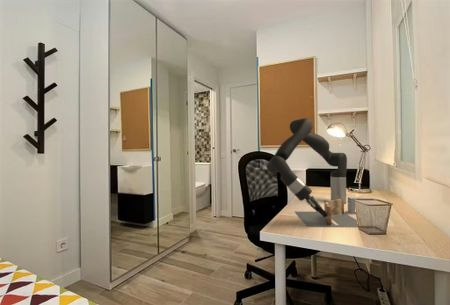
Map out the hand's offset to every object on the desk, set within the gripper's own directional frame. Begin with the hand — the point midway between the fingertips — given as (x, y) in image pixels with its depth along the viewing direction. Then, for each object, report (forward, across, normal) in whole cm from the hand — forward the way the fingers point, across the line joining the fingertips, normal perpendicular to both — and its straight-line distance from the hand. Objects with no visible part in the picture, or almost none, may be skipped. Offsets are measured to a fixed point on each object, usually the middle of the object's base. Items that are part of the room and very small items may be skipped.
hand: (326, 215), depth 106 cm
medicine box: (+15, +23, -10) cm, 30 cm away
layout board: (+4, +8, +2) cm, 9 cm away
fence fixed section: (+6, +15, -2) cm, 17 cm away
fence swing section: (+3, +3, +1) cm, 5 cm away
